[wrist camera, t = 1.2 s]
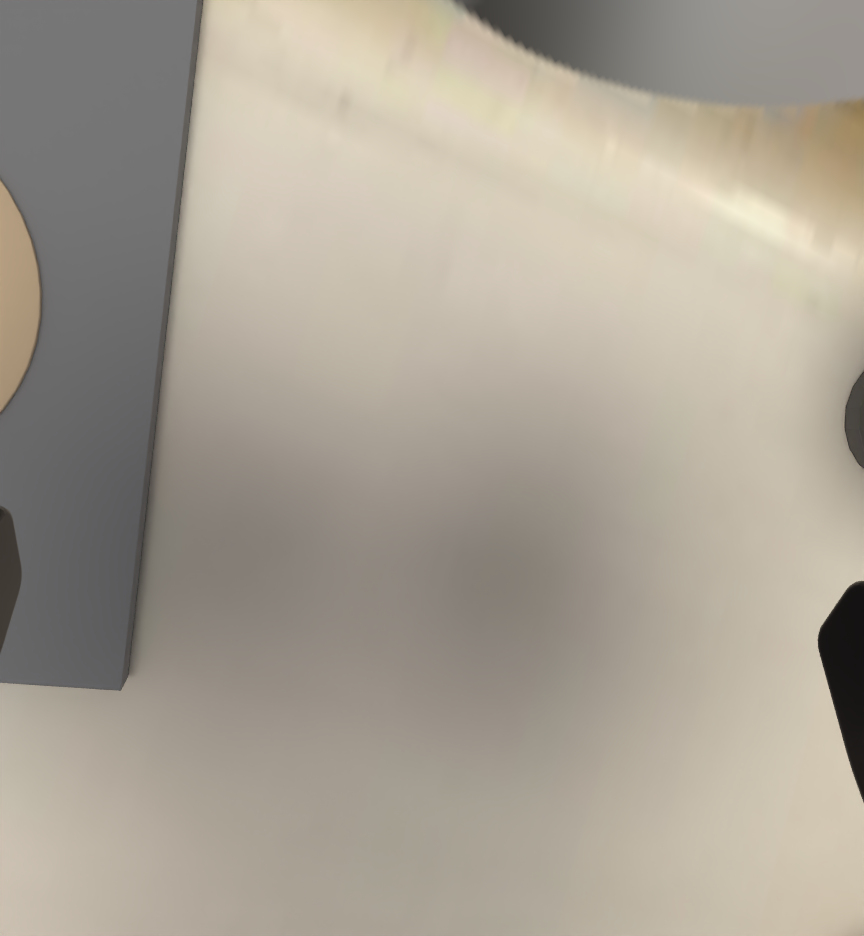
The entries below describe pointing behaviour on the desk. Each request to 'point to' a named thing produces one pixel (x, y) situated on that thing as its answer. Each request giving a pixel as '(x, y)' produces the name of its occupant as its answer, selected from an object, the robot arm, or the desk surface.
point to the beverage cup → (856, 420)
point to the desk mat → (85, 311)
